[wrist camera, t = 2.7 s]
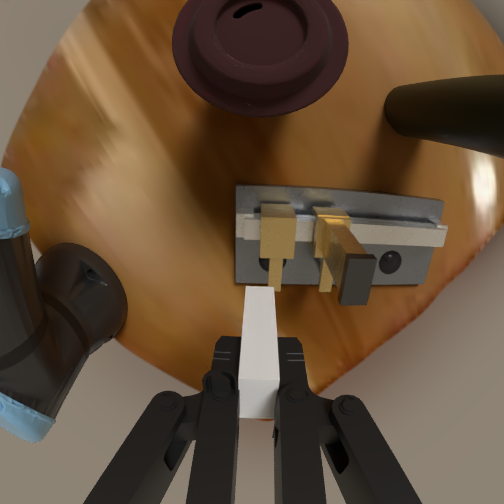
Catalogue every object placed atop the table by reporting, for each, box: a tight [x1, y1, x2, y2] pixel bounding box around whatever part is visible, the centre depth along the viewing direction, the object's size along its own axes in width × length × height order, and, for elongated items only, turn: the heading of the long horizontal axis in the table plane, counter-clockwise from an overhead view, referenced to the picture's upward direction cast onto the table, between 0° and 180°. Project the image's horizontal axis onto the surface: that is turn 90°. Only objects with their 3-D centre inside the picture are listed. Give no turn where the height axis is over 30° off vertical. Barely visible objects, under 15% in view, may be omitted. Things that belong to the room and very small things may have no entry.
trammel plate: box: [236, 184, 448, 291], centre depth 29 cm, size 24×11×6 cm, turn 89°
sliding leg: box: [309, 207, 377, 305], centre depth 25 cm, size 3×8×12 cm, turn 179°
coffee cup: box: [172, 0, 349, 117], centre depth 18 cm, size 10×10×15 cm
